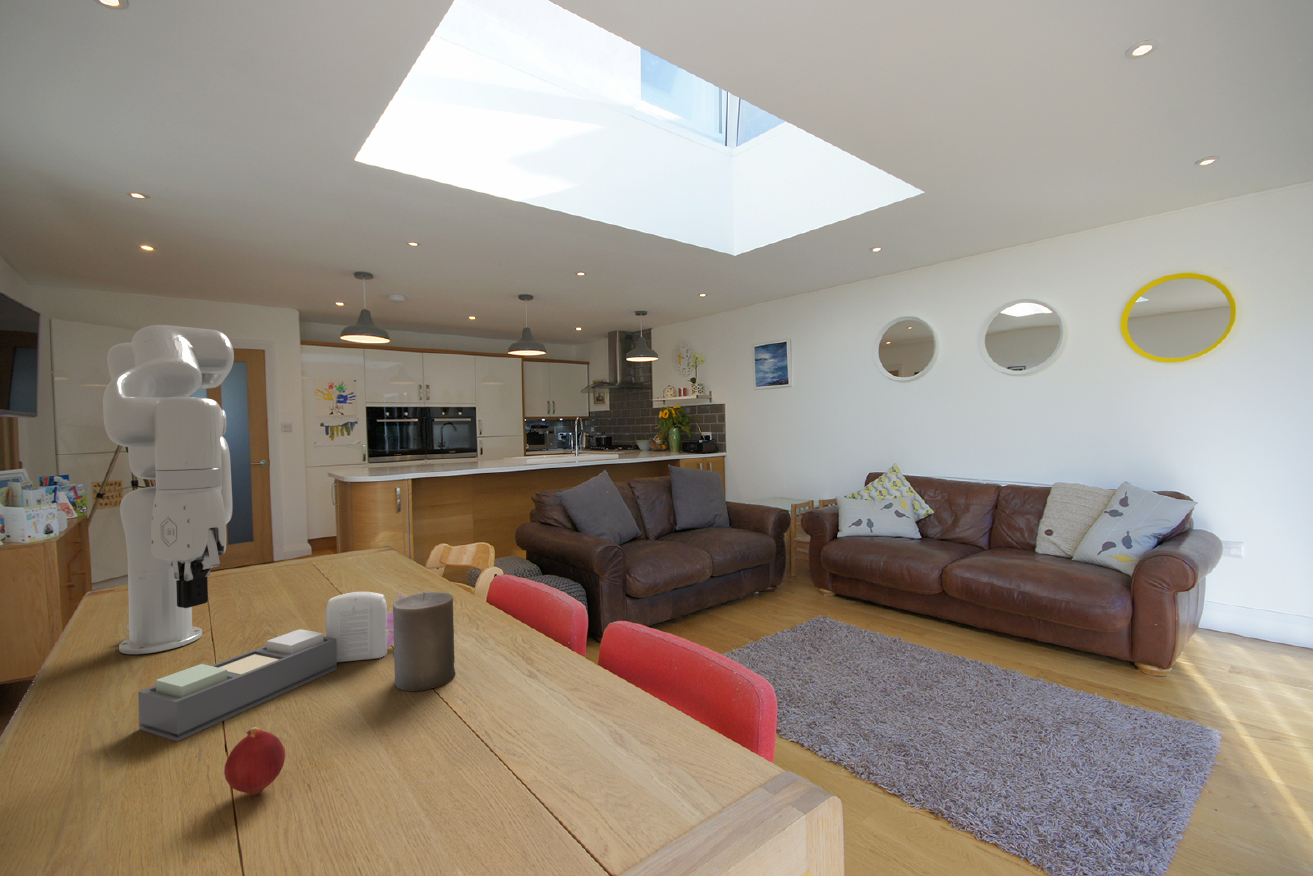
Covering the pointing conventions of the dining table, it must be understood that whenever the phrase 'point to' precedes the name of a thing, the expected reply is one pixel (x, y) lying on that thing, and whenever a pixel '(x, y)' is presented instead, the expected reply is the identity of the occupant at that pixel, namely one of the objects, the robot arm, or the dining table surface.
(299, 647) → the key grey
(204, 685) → the key sage
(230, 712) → the grey compartment tray
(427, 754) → the dining table surface
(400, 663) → the pillar candle
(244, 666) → the key sand
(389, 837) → the dining table surface
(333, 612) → the photo printer
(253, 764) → the onion
